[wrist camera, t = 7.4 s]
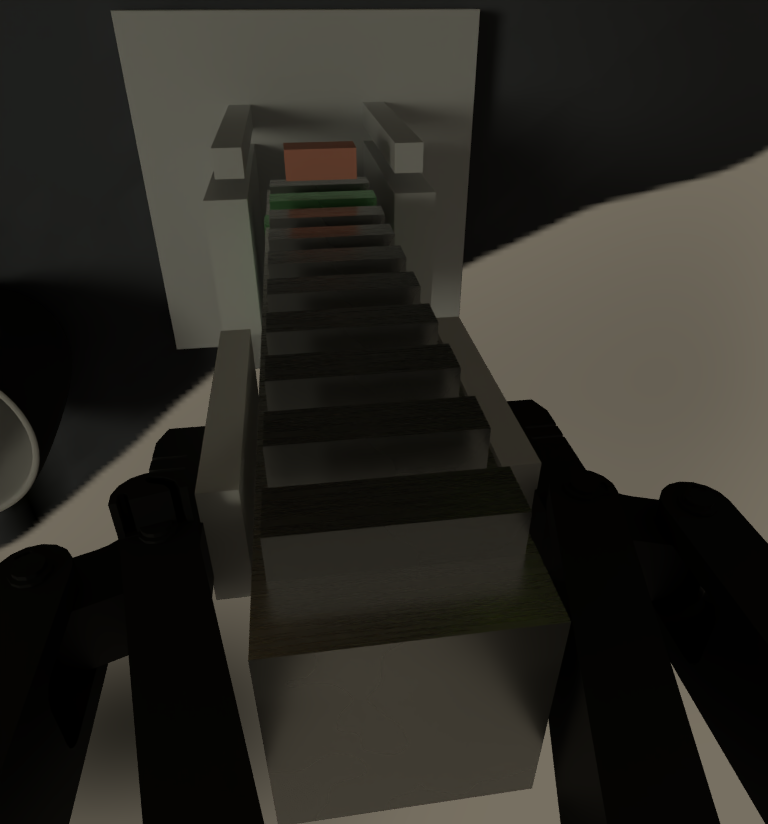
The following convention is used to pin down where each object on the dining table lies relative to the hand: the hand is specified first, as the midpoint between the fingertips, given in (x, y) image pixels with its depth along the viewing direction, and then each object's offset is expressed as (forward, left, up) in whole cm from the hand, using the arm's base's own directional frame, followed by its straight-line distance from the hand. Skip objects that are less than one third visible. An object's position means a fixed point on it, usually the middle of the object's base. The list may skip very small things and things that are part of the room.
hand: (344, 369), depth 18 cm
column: (0, 0, -12) cm, 12 cm away
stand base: (0, 0, -20) cm, 20 cm away
